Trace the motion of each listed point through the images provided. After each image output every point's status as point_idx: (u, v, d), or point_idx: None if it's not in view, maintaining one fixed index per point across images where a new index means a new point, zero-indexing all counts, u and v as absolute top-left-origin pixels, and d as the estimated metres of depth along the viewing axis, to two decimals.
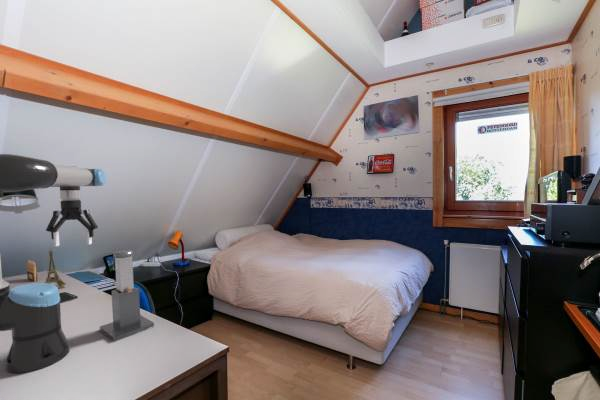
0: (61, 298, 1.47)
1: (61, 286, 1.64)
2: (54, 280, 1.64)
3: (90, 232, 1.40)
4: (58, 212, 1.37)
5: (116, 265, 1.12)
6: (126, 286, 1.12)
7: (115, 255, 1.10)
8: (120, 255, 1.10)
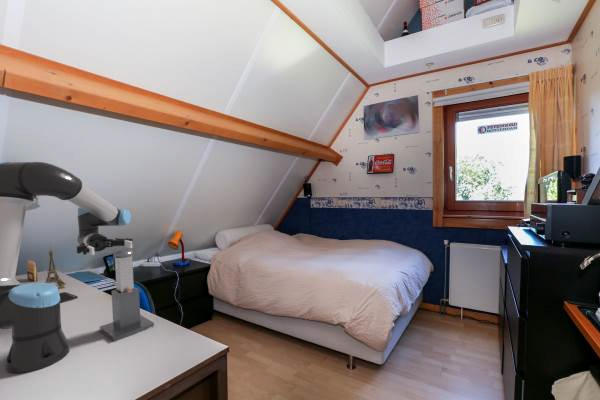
0: (61, 298, 1.47)
1: (61, 286, 1.64)
2: (54, 280, 1.64)
3: None
4: (86, 244, 1.25)
5: (116, 265, 1.12)
6: (126, 286, 1.12)
7: (115, 255, 1.10)
8: (120, 255, 1.10)
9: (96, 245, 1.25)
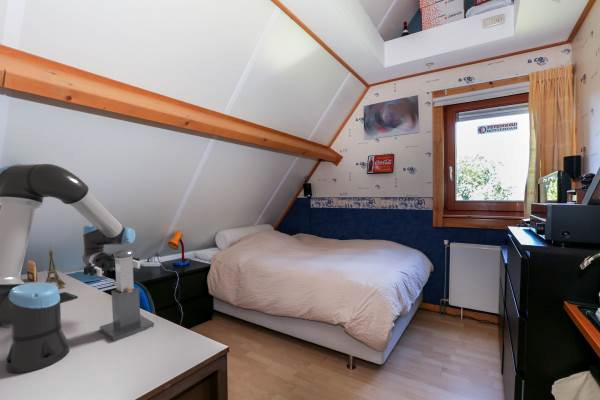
0: (61, 298, 1.47)
1: (61, 286, 1.64)
2: (54, 280, 1.64)
3: None
4: None
5: (116, 265, 1.12)
6: (126, 286, 1.12)
7: (115, 255, 1.10)
8: (120, 255, 1.10)
9: (103, 265, 1.24)
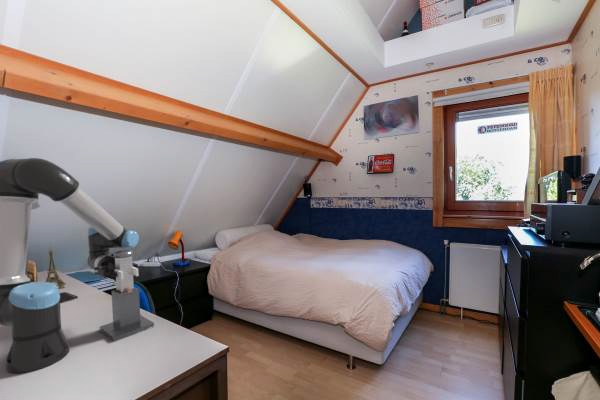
0: (61, 298, 1.47)
1: (61, 286, 1.64)
2: (54, 280, 1.64)
3: None
4: None
5: (116, 265, 1.12)
6: (126, 286, 1.12)
7: (115, 255, 1.10)
8: (120, 255, 1.10)
9: (112, 268, 1.18)
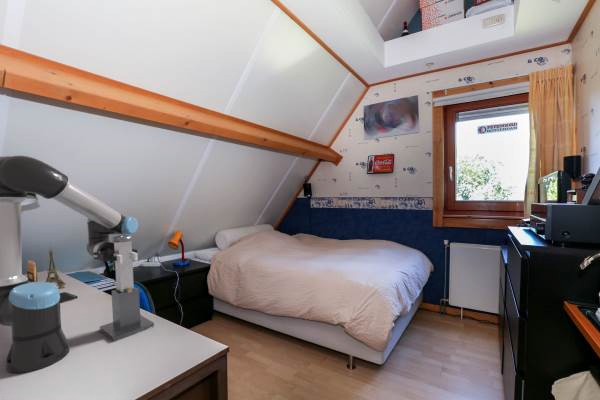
0: (61, 298, 1.47)
1: (61, 286, 1.64)
2: (54, 280, 1.64)
3: None
4: None
5: (115, 250, 1.12)
6: (125, 271, 1.11)
7: (114, 239, 1.10)
8: (119, 239, 1.09)
9: None
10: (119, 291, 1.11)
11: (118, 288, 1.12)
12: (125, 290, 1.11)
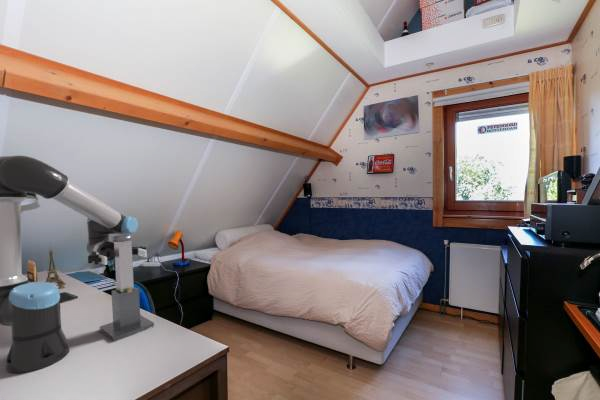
0: (61, 298, 1.47)
1: (61, 286, 1.64)
2: (54, 280, 1.64)
3: None
4: (97, 253, 1.17)
5: (115, 249, 1.12)
6: (125, 271, 1.11)
7: (114, 239, 1.10)
8: (119, 239, 1.09)
9: (108, 254, 1.17)
10: (119, 291, 1.11)
11: (118, 288, 1.12)
12: (125, 290, 1.11)
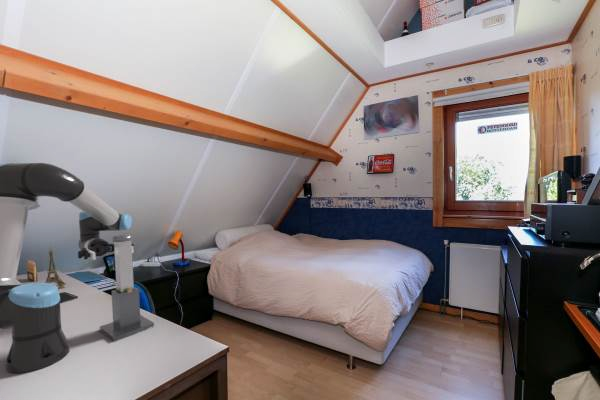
0: (61, 298, 1.47)
1: (61, 286, 1.64)
2: (54, 280, 1.64)
3: None
4: (87, 249, 1.25)
5: (115, 249, 1.12)
6: (125, 271, 1.11)
7: (114, 239, 1.10)
8: (119, 239, 1.09)
9: (97, 250, 1.25)
10: (119, 291, 1.11)
11: (118, 288, 1.12)
12: (125, 290, 1.11)
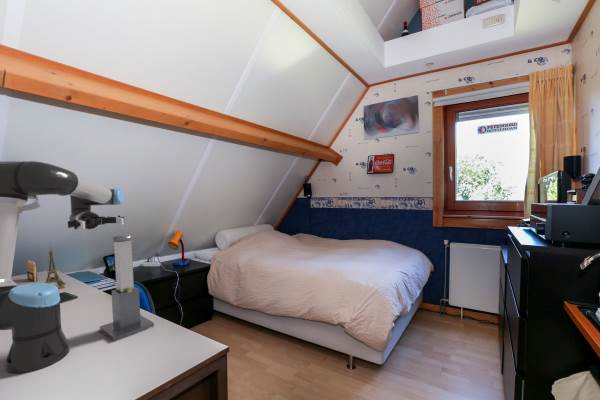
0: (61, 298, 1.47)
1: (61, 286, 1.64)
2: (54, 280, 1.64)
3: None
4: None
5: (115, 249, 1.12)
6: (125, 271, 1.11)
7: (114, 239, 1.10)
8: (119, 239, 1.09)
9: (87, 222, 1.26)
10: (119, 291, 1.11)
11: (118, 288, 1.12)
12: (125, 290, 1.11)
